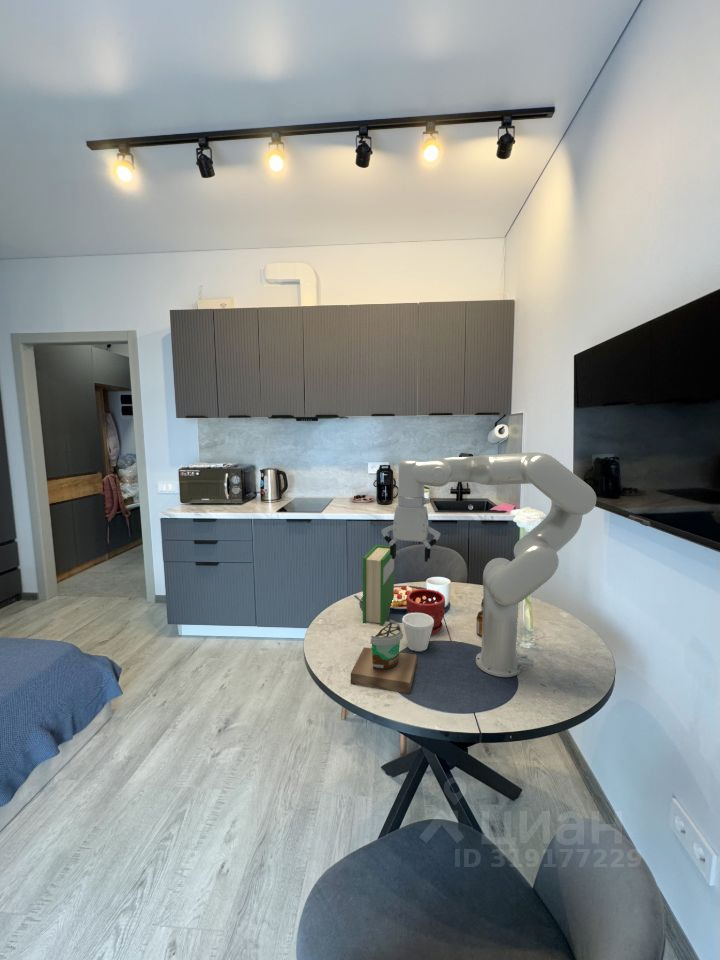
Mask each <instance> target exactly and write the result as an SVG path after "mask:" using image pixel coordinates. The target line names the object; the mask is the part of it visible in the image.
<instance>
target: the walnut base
mask: <svg viewBox="0 0 720 960" xmlns="http://www.w3.org/2000/svg"><path fill="white" fill-rule="evenodd" d="M417 658H418V655H417V654H413V653H406V652H400V651H399V658H398V665H397V666H396V667H395V668H393V669H390V670H375V669H373V660H372V647H371V648H370V647H363V648H362V649H361V652H360V654H359V656H358V658H357V660H356V662H355V663H354V665H353V667H352V670H351V671H350V684H351V685H357V686H363V687H369V688H374V689H380V690H386V691H391V692H399V693H403V694H409V695H410V694H411V689H412V687H413V686H412V685H413V680H414V678H415V672H416V668H417V664H418V663H417V662H418V661H417Z"/></svg>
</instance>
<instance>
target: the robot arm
mask: <svg viewBox="0 0 720 960" xmlns="http://www.w3.org/2000/svg"><path fill="white" fill-rule="evenodd" d="M397 480H398V481H397V482H398V483H397V485H398V488H397V491H398V492H397V493H398V494H397V495H398V497H397V505H395V509H394V515H393V524H392V525H389V526H386V527H385V528H382V529H381V534H382V536H383V537H384V540H385V541H386V542H387V544H388V546H390V555H392V559H394V560H395V559H396V557H397V543H396V542H398V541H401V542H402V541H405V542H418V543H421V542H422V544H423V545H424V546H425V548H424V562H425V563H427V562H428V561H429V559H431V548H432V547H433V546H434V545H436V544H437V542H438V540H439V538H440V537H441V532H439V531H437V530H435V529H434V528H433V527H431V526H429V513H428V507H427V506H425V505H426V504H427V505H428V504H430V499H429V498H426V497H425V486H430V487H435V488H436V487H438V488H440V487H444V486H447V485H448V484H449V483H459V482H460V483H464V482H465V483H475V484H478V485H479V484H480V485H485V486H503V485H525V484H526V485H528V484H530V485H533V486H534V487H535V488H536V489H538V490H539V491H540V492H541V493H542V494H543V495H545V496H546V497H547V498H549V500H551V505H550V510H549V512H548V514H547V515H546V516H545V517H544V519H542V520H541V521H540V523H538V524H537V525H536V526H535V527H533V528H532V529H531V530H530V531H529V532H527V533H526V534H525V535H524V536H523V537H521V538H520V539H519V540H518V541H517V542H516V543H515V545H514V548H513V554H514V559H512V560H511V561H510V560H509V559H507V558H504V557H495V558H493V559H491V560H490V561H488V562H487V563H486V565H485V566H484V569H483V574H482V587H483V590H482V591H483V603H482V605H483V606H482V622H481V623H482V627H481V628H482V630H481V631H482V633H481V651H480V652H479V653H477V654H476V656H475V664H476V666H477V667H478V668H479V669H480V670H481V671H483V672H485V673H486V674H488V675H491V676H494V677H499V678H511V677H516V676H517V675H519V674H520V673H521V671H522V666H527V667H534V659H533V658H529V657H528V655H527V654H520V653H518V650H517V639H518V638H517V637H518V618H519V603H521V602H523V601H524V600H526V598H528V597H529V596H530V595H531V594H533V593H534V592H535V591H536V590H538V589H540V588H541V586H543V585H544V584H545V583H546V582H548V581H549V580H550V579H551V578H552V577H553V576H554V575H555V573H557V570H558V567H559V564H560V563H559V560H560V559H559V556H558V552H559V551H560V550H561V549H563V547H565V545H567V544H568V543H569V542H570V541H572V539H573V538H574V537H575V536H576V534H577V533H578V531H579V529H580V528H581V525H582V521H583V516H584V515H587V514H589V513H591V511H592V510H594V508H595V506H596V503H597V494H596V491H594V489H593V487H591V486H590V485H589V484H588V483H586V482H585V481H584V480H583V479H582V478H580V477H579V476H577V474H575V473H573V471H571V470H570V469H569V468H567V467H566V466H565V465H564V464H562V463H561V462H560V461H559V460H557V459H556V458H555V457H553V456H552V455H551V454H547V453H542V452H518V453H501V454H499V453H498V454H483V455H475V456H458V457H438V458H434V459H431V460H428V461H423V460H420V459H403V460H401V461H399V463H398V479H397ZM390 531H392V537H391V536H390V535H389V532H390ZM429 534H431V535H433V536H434V537H433V538H432V539H431V540H430V539H429Z"/></svg>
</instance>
